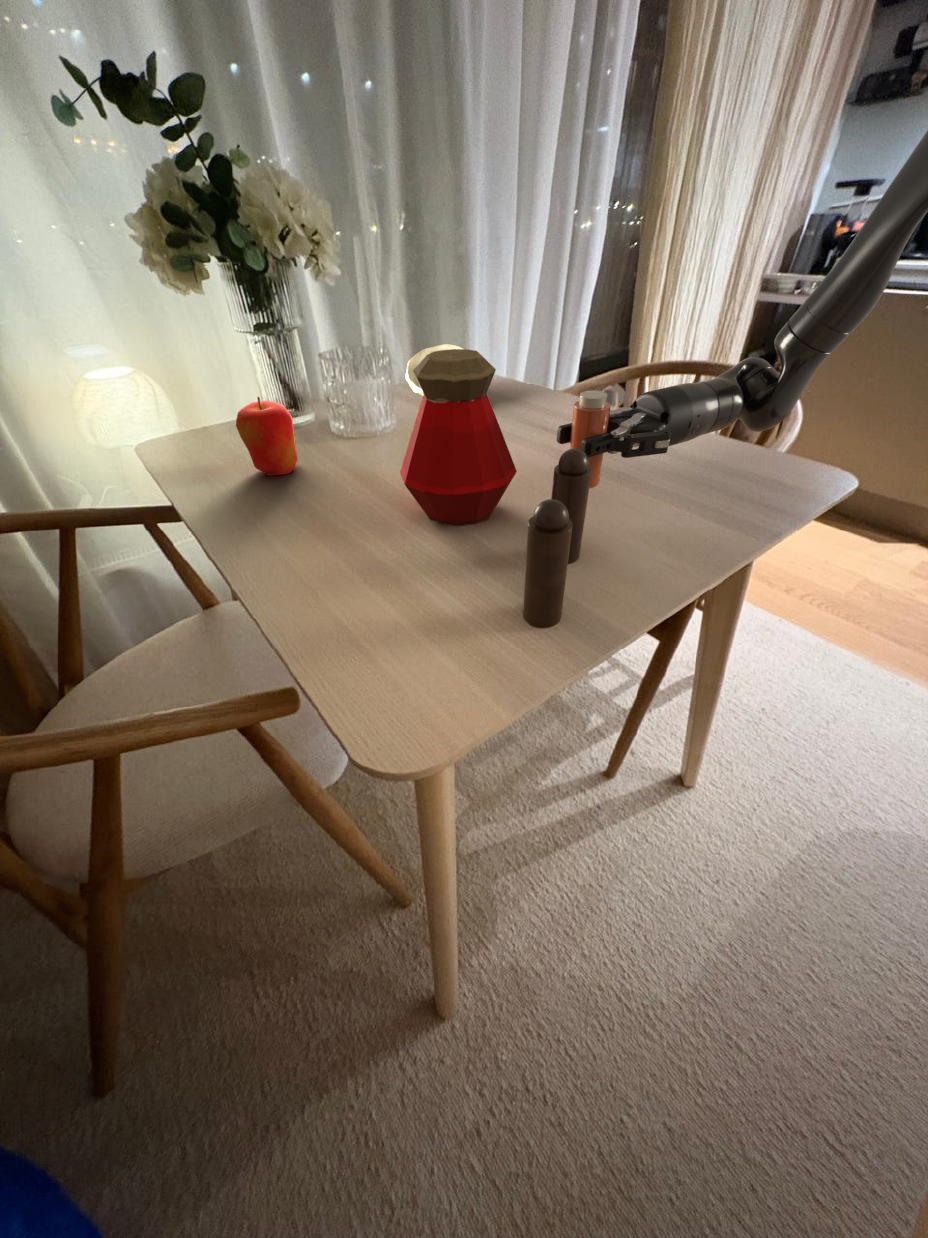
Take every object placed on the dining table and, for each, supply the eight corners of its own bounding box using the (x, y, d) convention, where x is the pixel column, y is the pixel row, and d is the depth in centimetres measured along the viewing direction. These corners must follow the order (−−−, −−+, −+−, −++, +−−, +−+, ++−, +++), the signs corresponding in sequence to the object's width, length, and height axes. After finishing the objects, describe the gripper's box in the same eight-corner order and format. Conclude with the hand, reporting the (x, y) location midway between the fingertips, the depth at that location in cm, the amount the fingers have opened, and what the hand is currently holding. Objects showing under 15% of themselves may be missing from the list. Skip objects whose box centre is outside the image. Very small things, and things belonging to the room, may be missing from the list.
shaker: (601, 476, 67) (614, 389, 60) (596, 490, 64) (610, 401, 57) (569, 472, 68) (578, 387, 61) (563, 486, 65) (572, 398, 58)
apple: (245, 469, 83) (220, 396, 76) (293, 456, 87) (273, 385, 79) (263, 486, 78) (238, 409, 70) (312, 471, 82) (294, 397, 74)
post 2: (581, 548, 61) (597, 444, 53) (576, 566, 58) (591, 458, 50) (550, 544, 62) (559, 440, 54) (543, 561, 60) (552, 454, 51)
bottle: (396, 535, 65) (373, 371, 52) (411, 489, 75) (395, 343, 62) (515, 536, 64) (522, 369, 51) (514, 489, 74) (520, 340, 61)
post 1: (564, 607, 53) (578, 493, 44) (557, 631, 50) (571, 515, 41) (527, 600, 54) (535, 488, 45) (518, 623, 51) (524, 508, 42)
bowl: (398, 410, 104) (392, 358, 97) (421, 391, 114) (417, 342, 107) (466, 415, 100) (464, 361, 94) (483, 394, 110) (483, 344, 104)
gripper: (641, 374, 69) (540, 395, 64) (724, 401, 60) (613, 429, 54) (631, 427, 74) (536, 452, 69) (706, 460, 65) (602, 492, 59)
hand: (571, 441), depth 62 cm, fingers closed on shaker, 4 cm apart
